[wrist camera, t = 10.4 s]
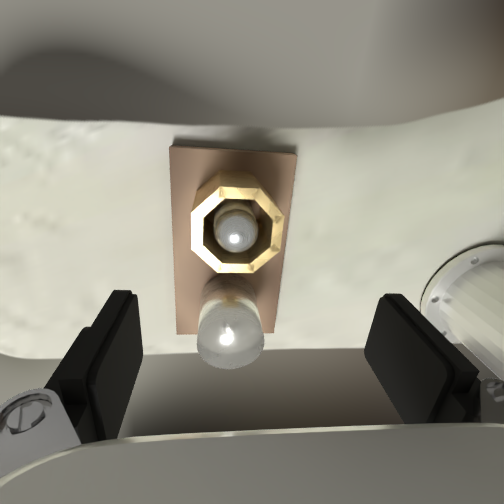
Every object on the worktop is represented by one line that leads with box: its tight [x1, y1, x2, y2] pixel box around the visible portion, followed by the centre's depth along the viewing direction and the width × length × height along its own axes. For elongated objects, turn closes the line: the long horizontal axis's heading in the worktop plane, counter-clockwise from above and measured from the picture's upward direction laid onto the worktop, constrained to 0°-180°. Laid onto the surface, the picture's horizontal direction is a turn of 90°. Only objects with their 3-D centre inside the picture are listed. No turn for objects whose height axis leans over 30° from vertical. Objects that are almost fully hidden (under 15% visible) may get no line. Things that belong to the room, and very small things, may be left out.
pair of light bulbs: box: [197, 198, 264, 369], centre depth 24 cm, size 5×13×7 cm, turn 175°
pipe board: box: [169, 145, 297, 335], centre depth 28 cm, size 10×18×2 cm, turn 176°
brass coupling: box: [191, 170, 285, 273], centre depth 22 cm, size 6×6×6 cm
